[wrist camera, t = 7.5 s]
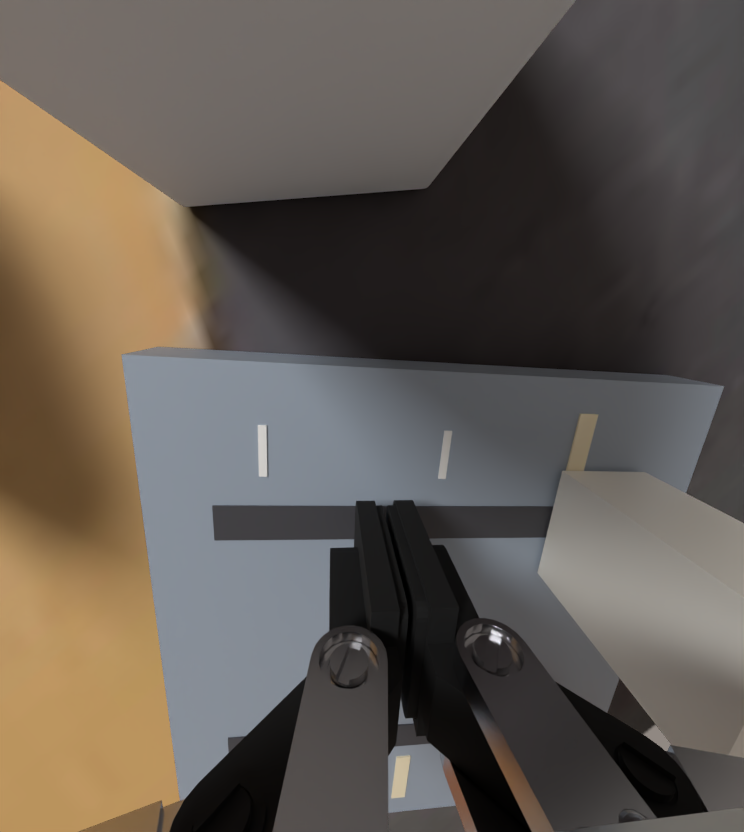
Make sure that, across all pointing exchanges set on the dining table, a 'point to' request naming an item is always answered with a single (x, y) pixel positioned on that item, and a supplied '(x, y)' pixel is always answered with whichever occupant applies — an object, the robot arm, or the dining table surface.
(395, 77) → the milk carton
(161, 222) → the dining table surface
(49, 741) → the dining table surface
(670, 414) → the fader console
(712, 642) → the cream knob
